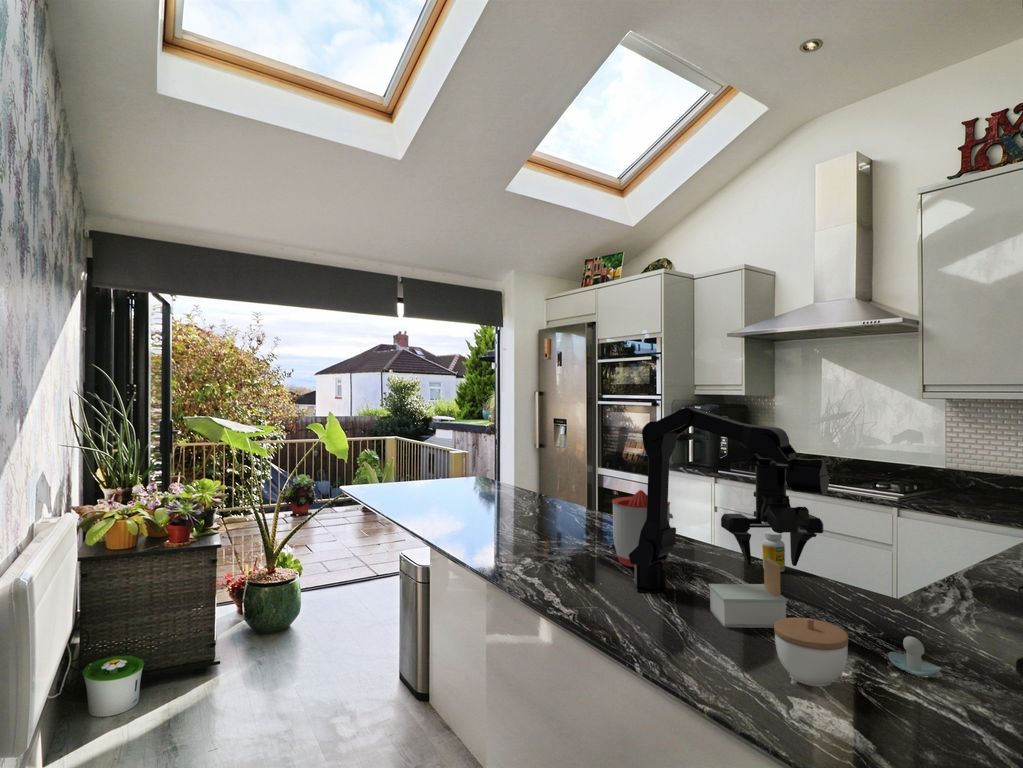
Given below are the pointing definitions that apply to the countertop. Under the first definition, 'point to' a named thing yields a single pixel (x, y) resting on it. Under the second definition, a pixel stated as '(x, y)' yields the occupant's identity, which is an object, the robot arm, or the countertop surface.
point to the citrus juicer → (629, 524)
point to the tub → (746, 613)
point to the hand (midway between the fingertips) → (771, 565)
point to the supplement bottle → (774, 548)
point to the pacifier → (914, 659)
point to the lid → (754, 588)
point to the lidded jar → (811, 650)
